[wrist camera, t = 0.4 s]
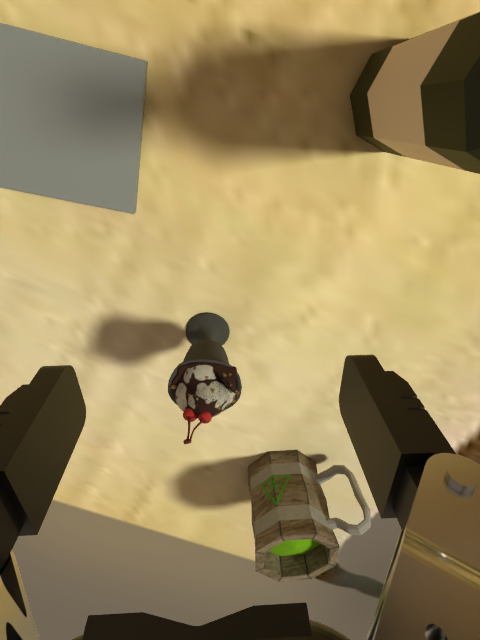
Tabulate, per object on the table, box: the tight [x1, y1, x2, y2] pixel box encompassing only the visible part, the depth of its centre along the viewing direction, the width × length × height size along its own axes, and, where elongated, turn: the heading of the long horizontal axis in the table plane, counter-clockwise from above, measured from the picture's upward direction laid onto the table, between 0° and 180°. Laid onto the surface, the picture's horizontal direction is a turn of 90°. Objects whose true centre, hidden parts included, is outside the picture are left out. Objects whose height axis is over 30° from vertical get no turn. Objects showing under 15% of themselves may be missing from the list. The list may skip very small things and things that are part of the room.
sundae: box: [168, 313, 242, 444], centre depth 35 cm, size 7×7×15 cm
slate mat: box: [0, 23, 148, 214], centre depth 31 cm, size 12×12×1 cm
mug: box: [248, 450, 371, 581], centre depth 49 cm, size 16×11×12 cm
